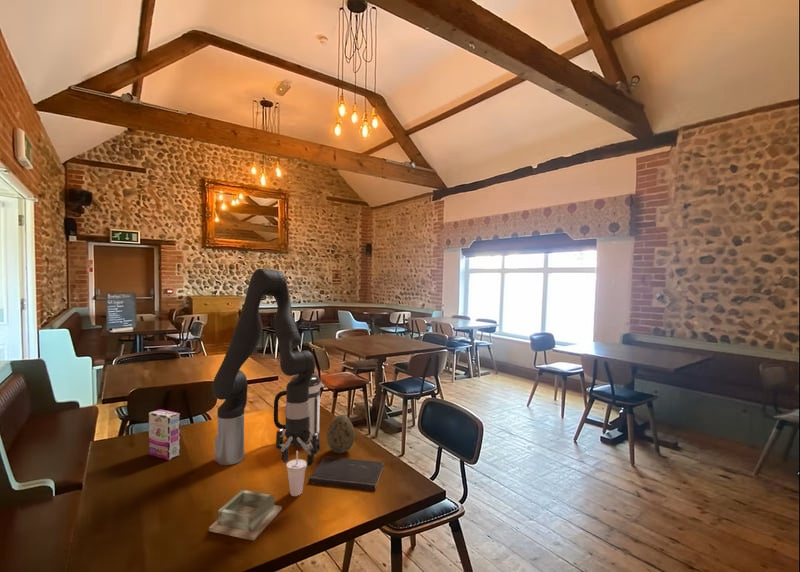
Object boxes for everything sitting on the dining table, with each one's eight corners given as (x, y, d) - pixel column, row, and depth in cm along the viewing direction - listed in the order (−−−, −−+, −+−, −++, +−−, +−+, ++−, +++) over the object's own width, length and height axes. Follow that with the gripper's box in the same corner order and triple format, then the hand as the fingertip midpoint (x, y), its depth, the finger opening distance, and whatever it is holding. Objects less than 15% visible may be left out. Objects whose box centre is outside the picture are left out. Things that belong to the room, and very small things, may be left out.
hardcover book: (324, 462, 149) (324, 456, 149) (384, 468, 145) (384, 462, 145) (308, 485, 133) (308, 478, 133) (375, 492, 130) (375, 486, 130)
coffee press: (304, 427, 178) (305, 362, 177) (329, 437, 169) (330, 368, 167) (272, 441, 164) (272, 370, 163) (297, 452, 155) (298, 377, 153)
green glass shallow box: (208, 531, 108) (208, 513, 108) (240, 501, 122) (240, 486, 122) (253, 540, 105) (254, 522, 105) (281, 509, 119) (281, 493, 119)
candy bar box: (180, 455, 151) (180, 412, 150) (168, 461, 146) (168, 417, 145) (160, 449, 155) (160, 408, 154) (148, 454, 150) (147, 412, 149)
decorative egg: (346, 461, 149) (346, 422, 148) (321, 455, 153) (321, 417, 152) (358, 448, 159) (359, 412, 158) (335, 444, 163) (335, 408, 162)
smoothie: (288, 500, 123) (288, 457, 122) (284, 490, 129) (284, 448, 128) (308, 495, 126) (309, 452, 125) (303, 485, 132) (304, 444, 131)
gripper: (271, 415, 124) (271, 466, 125) (313, 420, 121) (313, 472, 122) (283, 407, 132) (283, 455, 132) (323, 411, 128) (323, 460, 129)
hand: (297, 463), depth 127 cm, fingers open, 8 cm apart
